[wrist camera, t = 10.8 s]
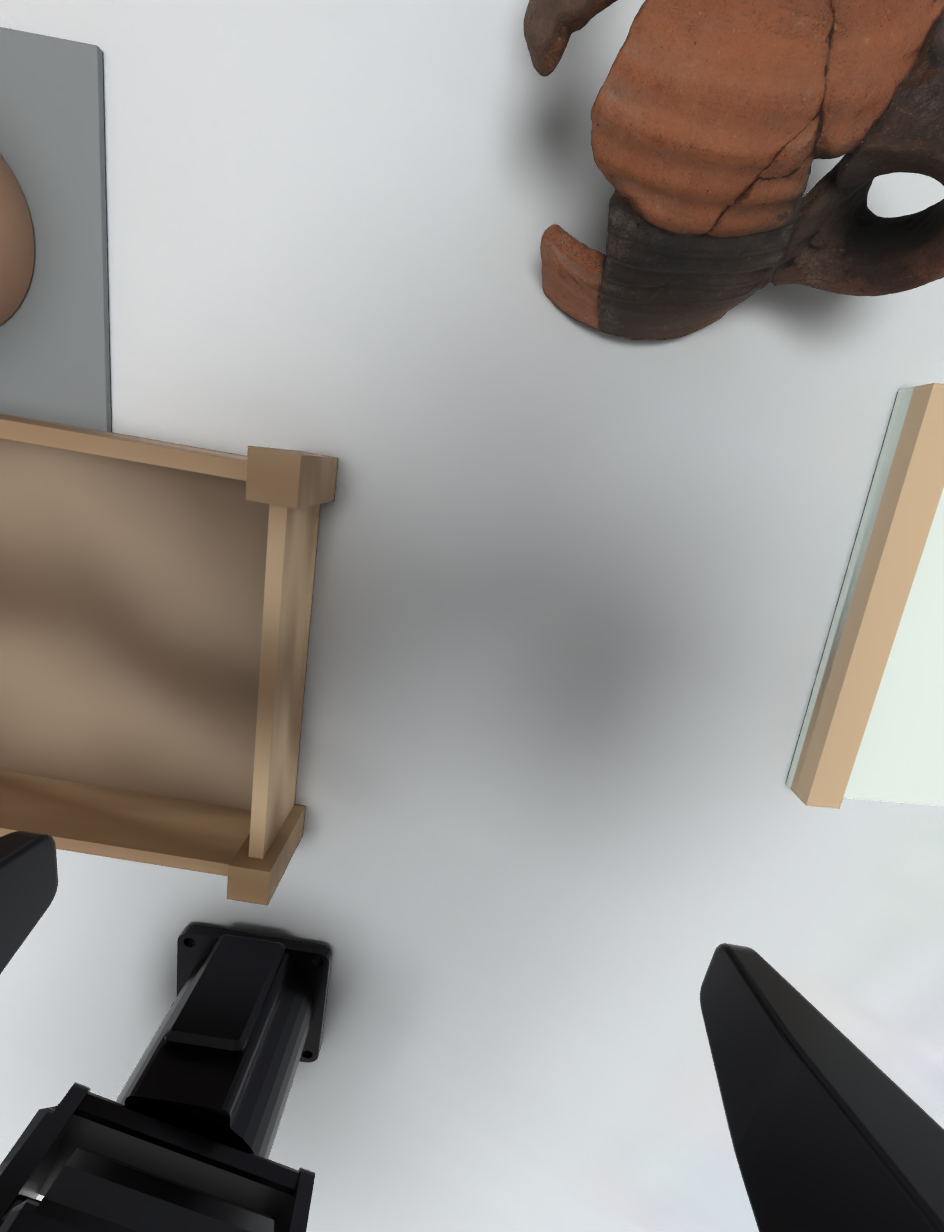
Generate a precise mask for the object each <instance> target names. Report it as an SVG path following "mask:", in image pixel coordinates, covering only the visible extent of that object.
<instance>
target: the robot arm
mask: <svg viewBox="0 0 944 1232" xmlns="http://www.w3.org/2000/svg"><path fill="white" fill-rule="evenodd" d="M57 886H58V874H57V859H56V844H55V841H54V839H53V838H52V836H50V835H48V834H42V833H36V832H30V831H15V832H12V833H9V834H7V835H4V836H2V837H0V974H1V972H2V971H3V969H4V968H5V967H6V965H7V964H8V963H9V961H10V960H11V958H12V957H13V956H14V954H15V953H16V951H17V950H18V949H19V947H20V946H21V945H22V943H23V942H24V940H25V939H26V938H27V936H28V935H29V933H30V932H31V931H32V929H33V928H34V926H35V925H36V924H37V922H38V921H39V920H40V918H41V917H42V915H43V914H44V913H45V911H46V910H47V908H48V907H49V906H50V904H51V902H52V900H53V898H54V896H55V894H56V891H57ZM319 958H320V959H319ZM331 960H332V952H331V951H330V949H328V948H327V947H325V946H322V945H317V944H310V943H304V942H298V941H291V940H285V939H278V938H272V937H266V936H259V935H253V934H247V933H240V932H234V931H228V930H221V929H215V928H209V927H202V926H196V925H190V926H187V927H186V928H185V929H184V930H183V931H182V933H181V934H180V936H179V938H178V952H177V998H176V1000H175V1001H174V1003H173V1005H172V1006H171V1008H170V1010H169V1012H168V1013H167V1015H166V1017H165V1018H164V1020H163V1022H162V1023H161V1025H160V1027H159V1029H158V1030H157V1032H156V1034H155V1035H154V1037H153V1039H152V1041H151V1042H150V1044H149V1046H148V1047H147V1049H146V1051H145V1052H144V1054H143V1056H142V1058H141V1059H140V1061H139V1063H138V1064H137V1066H136V1068H135V1069H134V1071H133V1073H132V1075H131V1076H130V1078H129V1080H128V1081H127V1083H126V1085H125V1087H124V1088H123V1090H122V1092H121V1093H120V1095H119V1097H118V1098H117V1100H116V1102H115V1101H112V1100H109V1099H107V1098H104V1097H101V1096H99V1095H96V1094H93V1093H91V1092H89V1091H90V1089H91V1088H89V1087H86V1086H84V1085H81V1084H78V1083H76V1082H75V1083H74V1085H73V1086H72V1087H71V1089H70V1090H69V1091H68V1093H67V1094H66V1096H65V1097H64V1098H63V1100H62V1101H61V1102H60V1104H58V1106H55V1107H50V1108H45V1109H40V1110H39V1111H38V1112H37V1114H36V1115H35V1116H34V1118H33V1119H32V1121H31V1122H30V1124H29V1125H28V1126H27V1128H26V1129H25V1131H24V1132H23V1134H22V1135H21V1136H20V1138H19V1139H18V1141H17V1142H16V1144H15V1145H14V1146H13V1148H12V1149H11V1151H10V1152H9V1154H8V1155H7V1156H6V1158H5V1159H4V1161H3V1162H2V1163H1V1165H0V1232H306V1228H307V1222H308V1216H309V1209H310V1203H311V1197H312V1190H313V1184H314V1178H315V1173H314V1172H311V1171H309V1170H306V1169H303V1168H300V1169H299V1170H295V1169H293V1168H290V1167H287V1166H285V1165H282V1164H279V1163H277V1162H274V1161H271V1160H269V1159H268V1158H269V1155H270V1152H271V1148H272V1145H273V1142H274V1139H275V1136H276V1133H277V1129H278V1126H279V1123H280V1120H281V1117H282V1114H283V1111H284V1107H285V1104H286V1101H287V1098H288V1095H289V1092H290V1088H291V1085H292V1082H293V1079H294V1076H295V1073H296V1070H297V1066H298V1063H299V1061H301V1062H313V1061H315V1060H316V1059H317V1058H318V1055H319V1052H320V1048H321V1042H322V1034H323V1026H324V1017H325V1009H326V1001H327V993H328V984H329V976H330V968H331ZM700 1004H701V1010H702V1014H703V1019H704V1023H705V1027H706V1032H707V1036H708V1040H709V1045H710V1049H711V1053H712V1058H713V1062H714V1066H715V1071H716V1075H717V1079H718V1084H719V1088H720V1092H721V1097H722V1101H723V1105H724V1110H725V1114H726V1118H727V1123H728V1127H729V1131H730V1135H731V1139H732V1143H733V1147H734V1151H735V1154H736V1158H737V1161H738V1164H739V1168H740V1171H741V1175H742V1178H743V1181H744V1185H745V1188H746V1191H747V1194H748V1197H749V1200H750V1204H751V1207H752V1210H753V1213H754V1216H755V1220H756V1223H757V1226H758V1229H759V1232H944V1129H943V1128H942V1127H941V1126H940V1125H939V1124H937V1123H936V1122H935V1121H934V1120H933V1119H932V1118H931V1117H930V1116H929V1115H928V1114H927V1113H926V1112H925V1111H924V1110H923V1109H922V1108H921V1107H920V1106H918V1105H917V1104H916V1103H915V1102H914V1101H913V1100H912V1099H911V1098H910V1097H909V1096H908V1095H907V1094H906V1093H905V1092H904V1091H903V1090H902V1089H900V1088H899V1087H898V1086H897V1085H896V1084H895V1083H894V1082H893V1081H892V1080H891V1079H890V1078H889V1077H888V1076H887V1075H886V1074H885V1073H884V1072H883V1071H881V1070H880V1069H879V1068H878V1067H877V1066H876V1065H875V1064H874V1063H873V1062H872V1061H871V1060H870V1059H869V1058H868V1057H867V1056H866V1055H865V1054H864V1053H862V1052H861V1051H860V1050H859V1049H858V1048H857V1047H856V1046H855V1045H854V1044H853V1043H852V1042H851V1041H850V1040H849V1039H848V1038H847V1037H846V1036H845V1035H843V1034H842V1033H841V1032H840V1031H839V1030H838V1029H837V1028H836V1027H835V1026H834V1025H833V1024H832V1023H831V1022H830V1021H829V1020H828V1019H827V1018H825V1017H824V1016H823V1015H822V1014H821V1013H820V1012H819V1011H818V1010H817V1009H816V1008H815V1007H814V1006H813V1005H812V1004H811V1003H810V1002H809V1001H808V1000H806V999H805V998H804V997H803V996H802V995H801V994H800V993H799V992H798V991H797V990H796V989H795V988H794V987H793V986H792V985H791V984H790V983H789V982H787V981H786V980H785V979H784V978H783V977H782V976H781V975H780V974H779V973H778V972H777V971H776V970H775V969H774V968H773V967H772V966H771V965H770V964H768V963H767V962H766V961H765V960H764V959H763V958H762V957H761V956H760V955H759V954H758V953H757V952H755V951H754V950H753V949H751V948H748V947H744V946H738V945H732V944H726V943H724V944H720V945H719V946H718V947H717V948H716V950H715V952H714V954H713V957H712V960H711V962H710V965H709V967H708V970H707V972H706V975H705V978H704V980H703V983H702V986H701V991H700ZM38 1194H40V1195H43V1196H44V1198H43V1199H42V1201H39V1200H36V1197H37V1196H38Z"/></svg>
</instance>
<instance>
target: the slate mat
mask: <svg viewBox="0 0 944 1232" xmlns="http://www.w3.org/2000/svg"><path fill="white" fill-rule="evenodd" d="M0 154H1V156H2V157H3V159H4V160H5V161H6V163H7V164H8V166H9V167H10V169H11V171H12V173H13V174H14V176H15V178H16V180H17V182H18V184H19V186H20V188H21V191H22V193H23V195H24V198H25V201H26V204H27V207H28V210H29V213H30V218H31V222H32V227H33V235H34V264H33V272H32V276H31V280H30V284H29V287H28V289H27V292H26V294H25V297H24V298H23V300H22V302H21V304H20V305H19V307H18V308H17V310H16V311H15V312H14V313H13V314H12V316H11V317H10V318H9V319H7V320H6V321H5V322H4V323H3V324H2V325H0V413H1V414H7V415H13V416H18V417H24V418H30V419H36V420H41V421H47V422H53V423H58V424H64V425H70V426H75V427H81V428H87V429H92V430H98V431H104V432H111V400H110V357H109V314H108V271H107V229H106V186H105V143H104V100H103V57H102V50H101V49H100V48H99V47H98V46H96V45H91V44H86V43H81V42H76V41H70V40H65V39H60V38H55V37H49V36H44V35H39V34H34V33H28V32H23V31H18V30H13V29H7V28H2V27H0Z"/></svg>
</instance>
